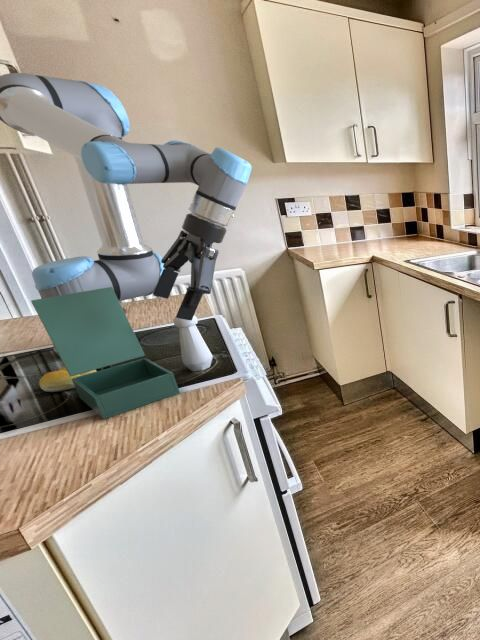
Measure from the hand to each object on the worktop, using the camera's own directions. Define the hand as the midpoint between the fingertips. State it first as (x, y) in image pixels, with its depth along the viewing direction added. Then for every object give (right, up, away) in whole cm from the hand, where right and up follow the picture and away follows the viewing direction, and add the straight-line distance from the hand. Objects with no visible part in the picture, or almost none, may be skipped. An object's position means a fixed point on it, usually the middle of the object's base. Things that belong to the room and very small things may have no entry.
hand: (171, 307), depth 94 cm
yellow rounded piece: (-21, -17, -1) cm, 27 cm away
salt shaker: (+3, -14, +5) cm, 15 cm away
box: (-3, -19, -7) cm, 20 cm away
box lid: (-11, -5, -6) cm, 14 cm away
